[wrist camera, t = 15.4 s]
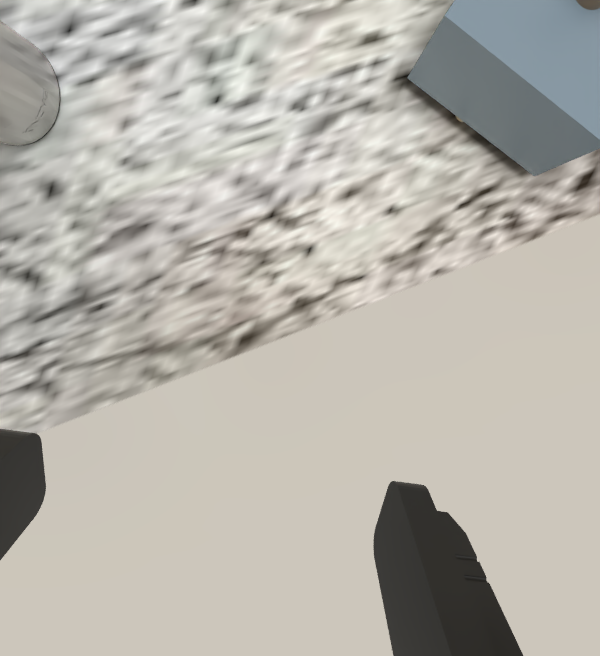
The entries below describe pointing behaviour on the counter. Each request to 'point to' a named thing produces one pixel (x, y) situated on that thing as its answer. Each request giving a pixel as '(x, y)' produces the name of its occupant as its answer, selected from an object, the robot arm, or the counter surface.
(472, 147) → the counter surface
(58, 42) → the counter surface
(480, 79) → the cover
